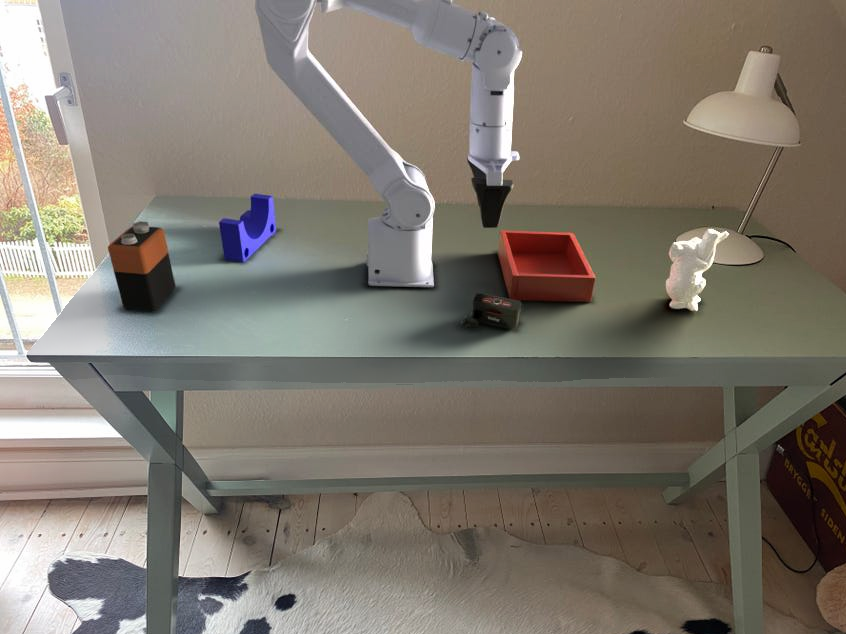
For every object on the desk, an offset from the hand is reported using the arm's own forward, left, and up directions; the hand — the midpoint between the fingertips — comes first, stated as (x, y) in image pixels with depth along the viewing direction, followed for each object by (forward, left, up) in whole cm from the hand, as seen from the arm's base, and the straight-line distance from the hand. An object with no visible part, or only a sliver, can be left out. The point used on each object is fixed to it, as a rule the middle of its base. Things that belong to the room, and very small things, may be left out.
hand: (487, 216), depth 97 cm
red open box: (+9, 0, -9) cm, 13 cm away
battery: (-46, -10, -10) cm, 48 cm away
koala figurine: (+29, -8, -10) cm, 32 cm away
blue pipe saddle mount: (-37, +8, -10) cm, 39 cm away
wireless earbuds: (-1, -15, -10) cm, 18 cm away
